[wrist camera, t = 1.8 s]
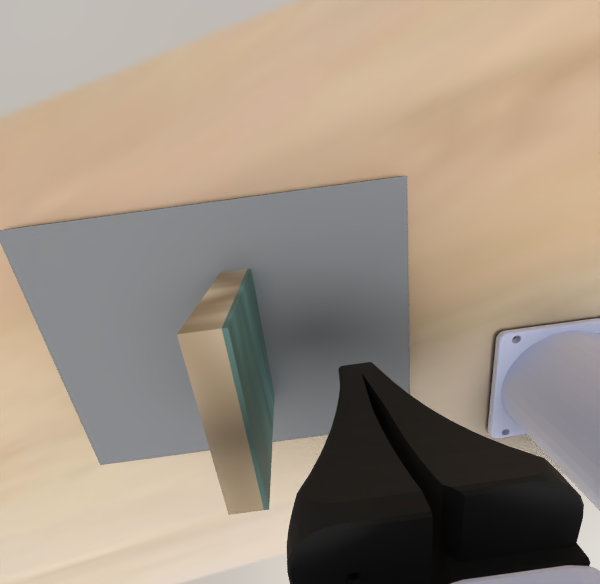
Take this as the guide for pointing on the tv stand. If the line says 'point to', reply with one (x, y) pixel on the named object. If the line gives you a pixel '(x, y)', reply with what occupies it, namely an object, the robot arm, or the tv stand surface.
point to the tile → (233, 388)
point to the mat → (191, 289)
